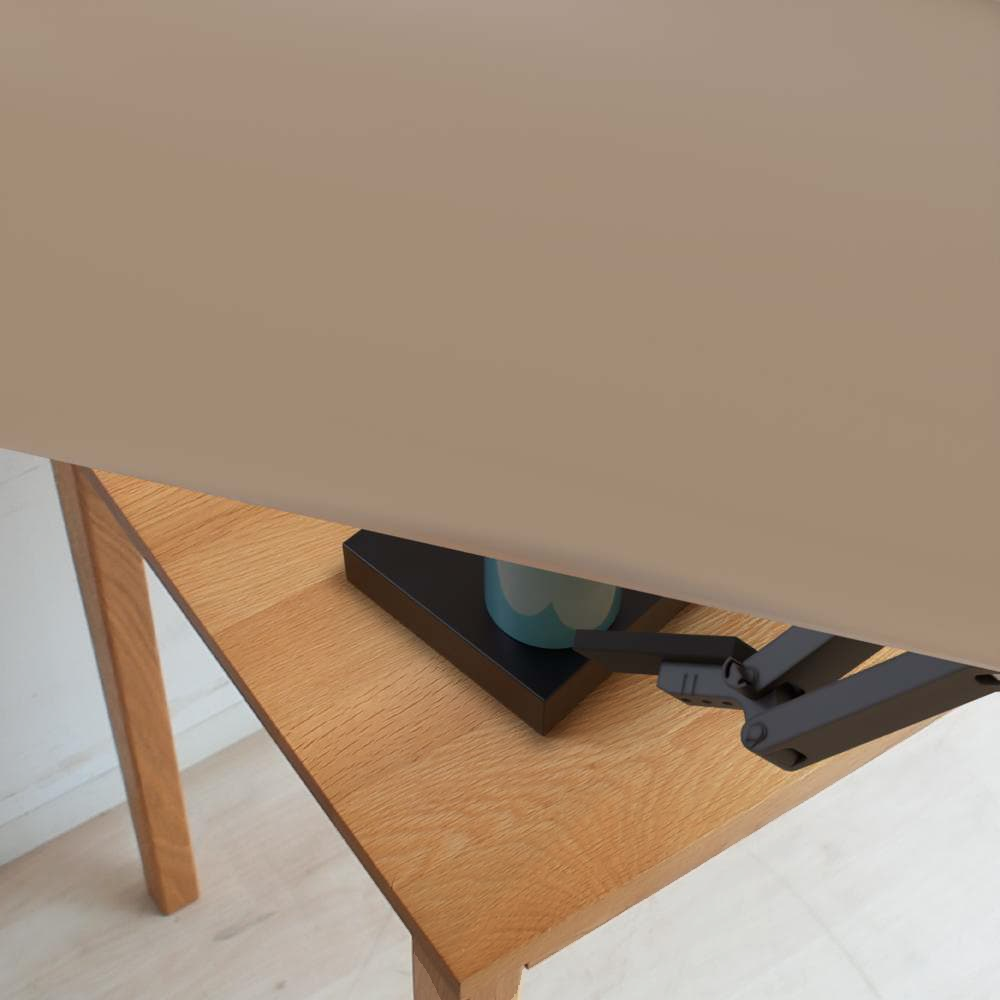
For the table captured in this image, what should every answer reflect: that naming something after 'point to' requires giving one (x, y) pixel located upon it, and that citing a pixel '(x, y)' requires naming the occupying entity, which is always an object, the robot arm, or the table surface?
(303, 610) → the table surface
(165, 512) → the table surface
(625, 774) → the table surface
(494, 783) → the table surface
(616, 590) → the pot
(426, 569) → the hob
